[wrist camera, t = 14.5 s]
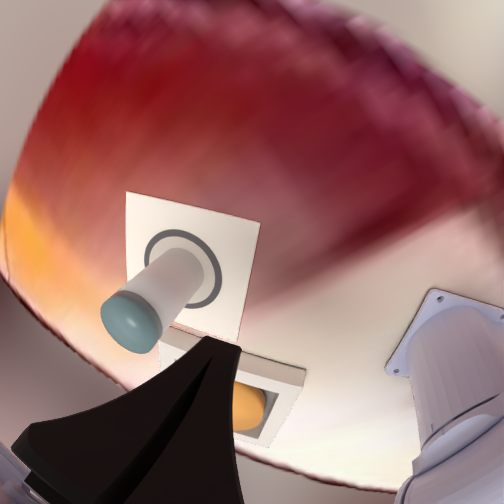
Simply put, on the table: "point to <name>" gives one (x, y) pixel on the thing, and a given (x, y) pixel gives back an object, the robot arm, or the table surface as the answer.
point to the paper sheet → (205, 250)
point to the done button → (247, 406)
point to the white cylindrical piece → (152, 300)
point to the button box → (248, 383)
